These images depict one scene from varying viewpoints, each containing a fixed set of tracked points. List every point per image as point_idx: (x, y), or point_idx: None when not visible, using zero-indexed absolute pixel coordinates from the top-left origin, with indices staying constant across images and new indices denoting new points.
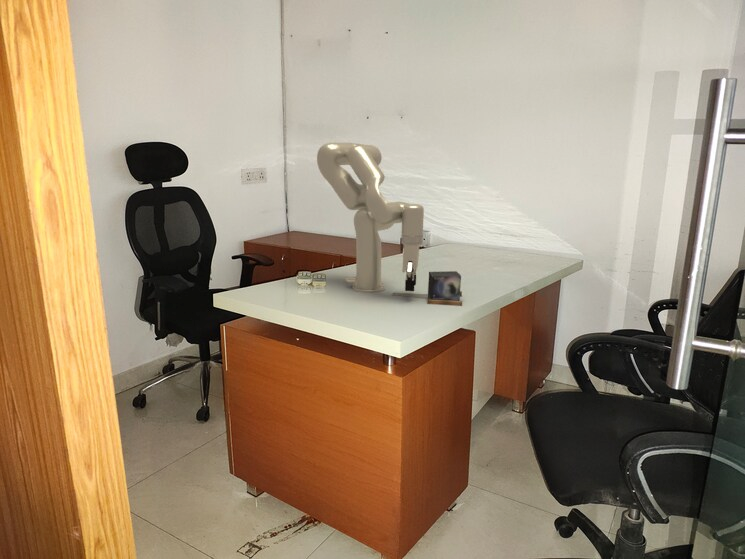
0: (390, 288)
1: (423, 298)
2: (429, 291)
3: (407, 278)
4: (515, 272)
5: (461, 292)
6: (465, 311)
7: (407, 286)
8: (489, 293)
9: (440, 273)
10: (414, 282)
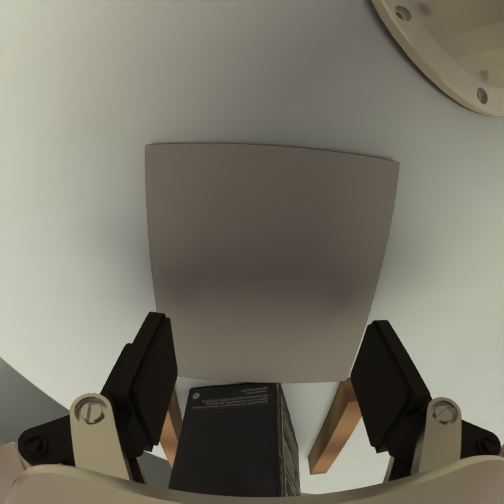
0: (496, 156)
1: (257, 368)
2: (230, 431)
3: (54, 421)
4: None
5: (310, 474)
6: None
7: (120, 357)
8: (349, 483)
9: None
10: (358, 388)
